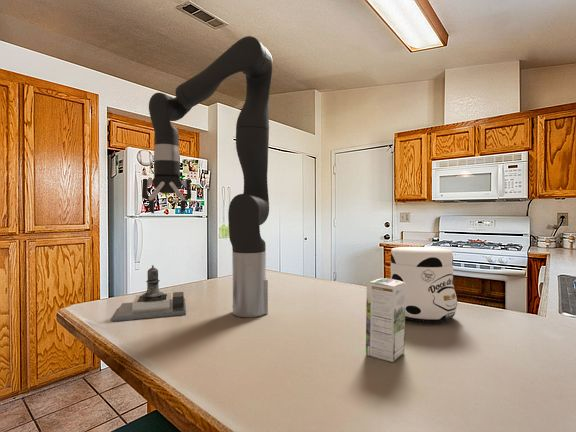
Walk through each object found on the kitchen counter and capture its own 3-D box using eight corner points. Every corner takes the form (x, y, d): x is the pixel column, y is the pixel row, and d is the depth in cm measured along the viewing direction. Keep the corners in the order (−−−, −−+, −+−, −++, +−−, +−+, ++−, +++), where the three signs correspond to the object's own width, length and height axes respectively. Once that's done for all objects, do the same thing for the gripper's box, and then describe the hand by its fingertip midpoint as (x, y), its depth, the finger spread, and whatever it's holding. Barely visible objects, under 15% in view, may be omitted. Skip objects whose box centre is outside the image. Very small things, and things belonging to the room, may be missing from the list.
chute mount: (185, 302, 107) (185, 288, 107) (185, 314, 93) (185, 299, 93) (122, 307, 101) (122, 293, 101) (113, 321, 88) (113, 305, 88)
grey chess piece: (156, 310, 94) (155, 266, 94) (137, 308, 95) (137, 266, 95) (168, 304, 100) (167, 263, 99) (150, 303, 101) (149, 263, 101)
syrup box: (377, 346, 71) (377, 277, 70) (405, 353, 67) (405, 280, 67) (365, 355, 66) (365, 281, 66) (394, 363, 62) (394, 285, 62)
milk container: (462, 330, 80) (462, 254, 80) (385, 323, 85) (385, 252, 85) (452, 310, 96) (452, 247, 96) (388, 305, 102) (388, 245, 102)
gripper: (190, 163, 111) (190, 213, 111) (143, 161, 106) (143, 213, 106) (191, 159, 103) (191, 213, 104) (140, 157, 99) (141, 213, 99)
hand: (167, 213), depth 105 cm, fingers open, 8 cm apart
